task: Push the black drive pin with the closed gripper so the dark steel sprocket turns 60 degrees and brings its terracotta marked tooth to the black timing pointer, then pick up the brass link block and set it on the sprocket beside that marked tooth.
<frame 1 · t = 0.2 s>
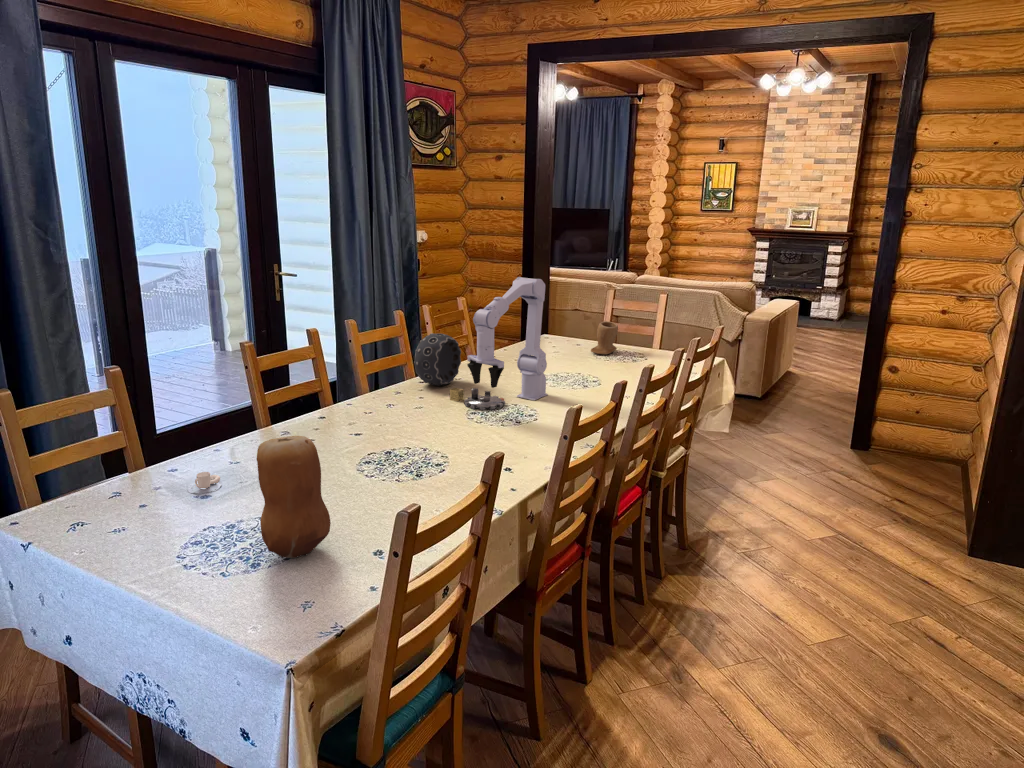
hand: (485, 385, 232), 10 cm above the table, tool pointing down, fingers open, 7 cm apart
stone cup: (605, 353, 330), on the table
timing pointer: (487, 397, 253), on the table
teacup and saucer: (218, 488, 173), on the table
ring: (438, 384, 270), on the table
butternut squash: (297, 554, 142), on the table
link block: (456, 400, 250), on the table
sprocket: (484, 397, 244), point 3 cm above the table, hinge at 0.0°
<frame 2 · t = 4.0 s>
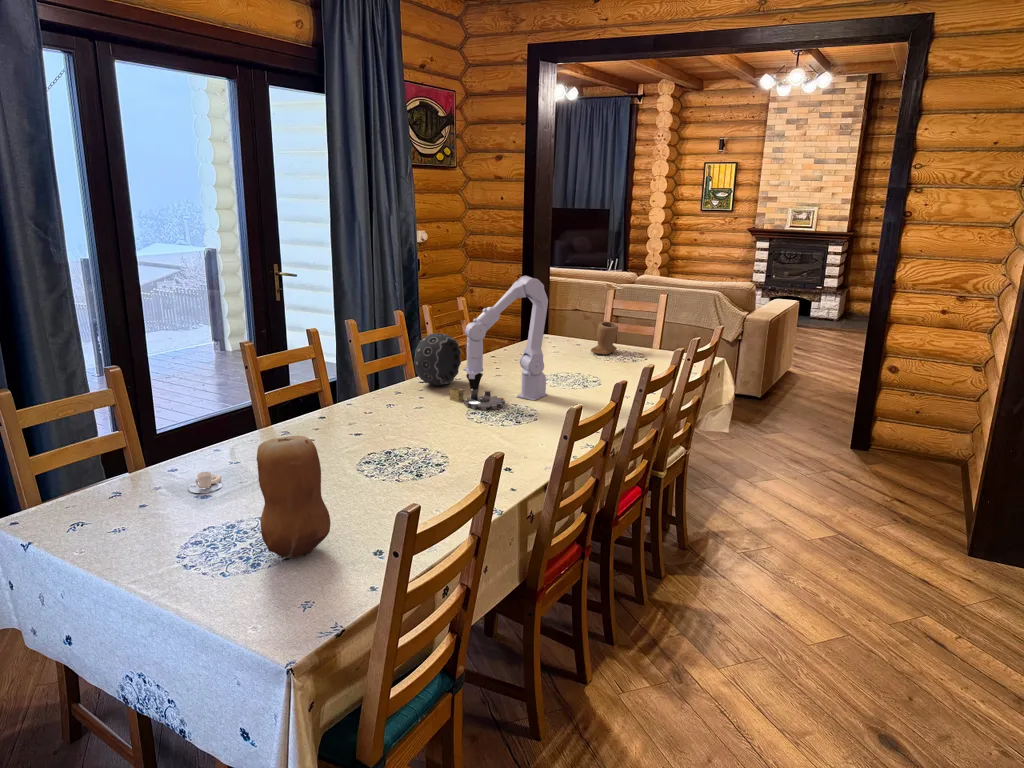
hand: (474, 393, 248), 3 cm above the table, tool pointing down, fingers closed, pressing on sprocket
sprocket: (484, 397, 244), point 3 cm above the table, hinge at 4.0°, touching gripper
everything else where it was.
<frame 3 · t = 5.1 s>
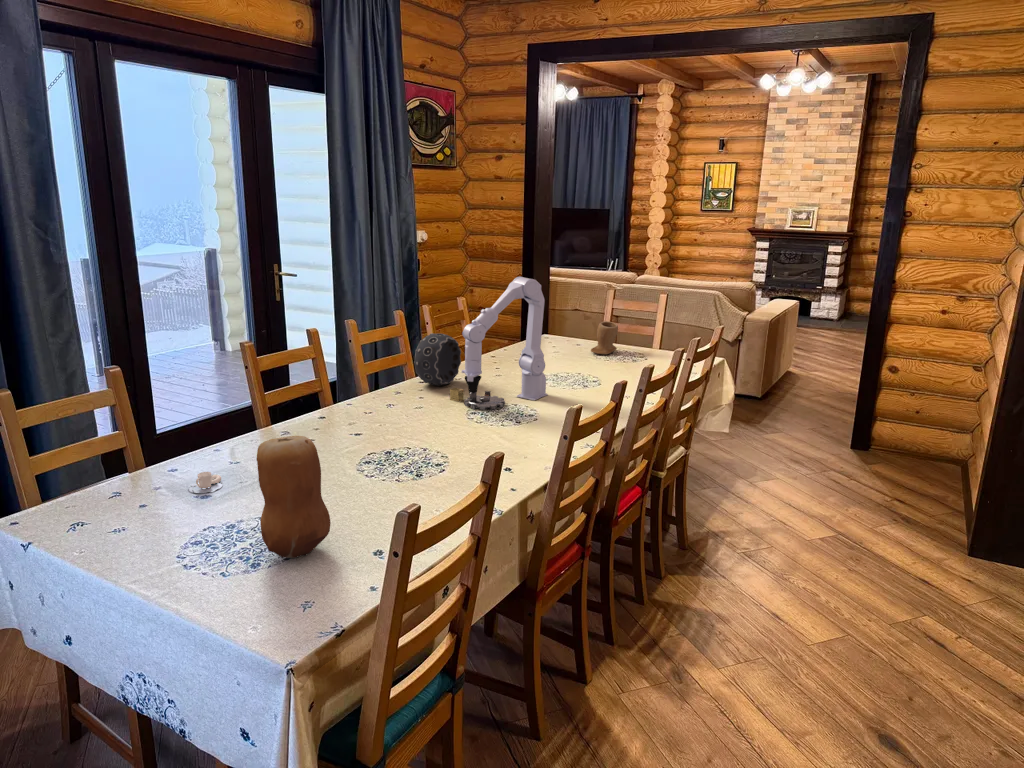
hand: (472, 396, 244), 3 cm above the table, tool pointing down, fingers closed, pressing on sprocket
sprocket: (484, 397, 244), point 3 cm above the table, hinge at 61.2°, touching gripper
everything else where it was.
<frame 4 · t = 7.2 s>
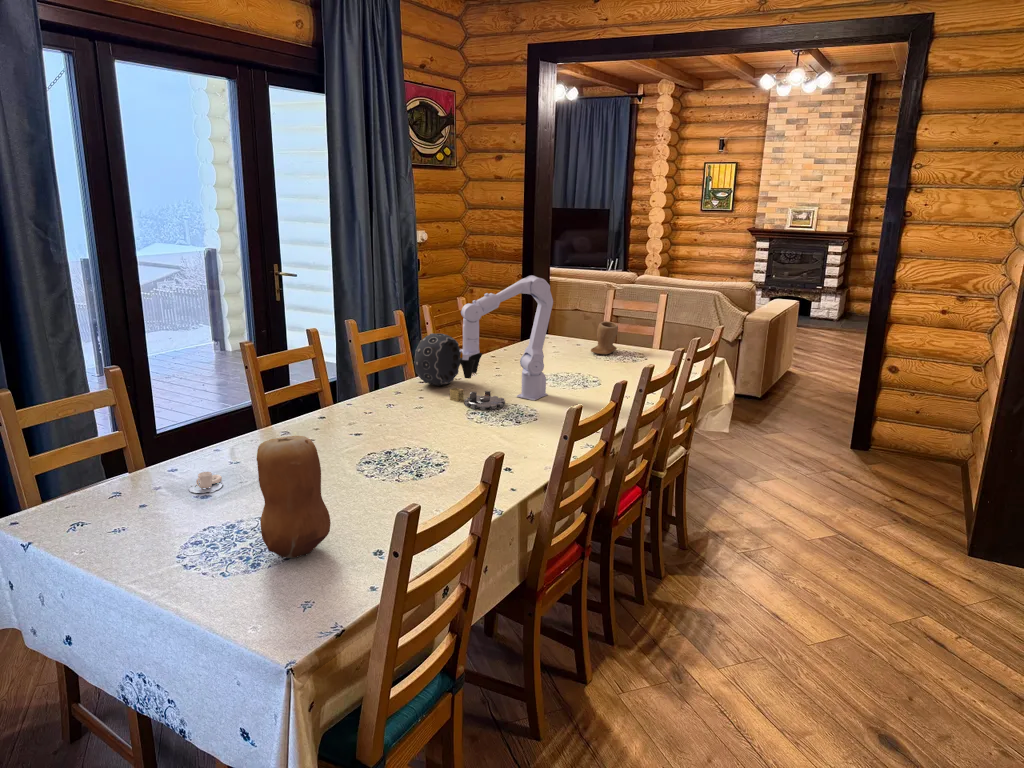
hand: (470, 375, 246), 10 cm above the table, tool pointing down, fingers open, 7 cm apart
sprocket: (484, 397, 244), point 3 cm above the table, hinge at 61.4°
everything else where it was.
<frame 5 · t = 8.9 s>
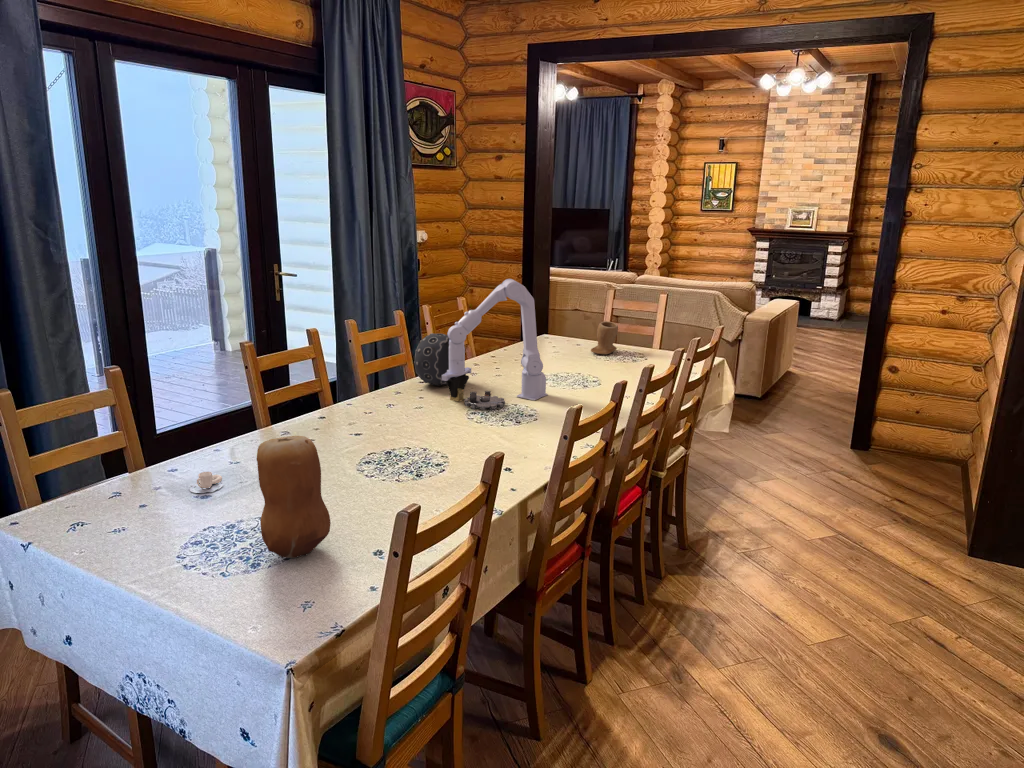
hand: (456, 396, 250), 1 cm above the table, tool pointing down, fingers closed on link block, 3 cm apart
link block: (456, 399, 250), on the table, touching gripper
everything else where it was.
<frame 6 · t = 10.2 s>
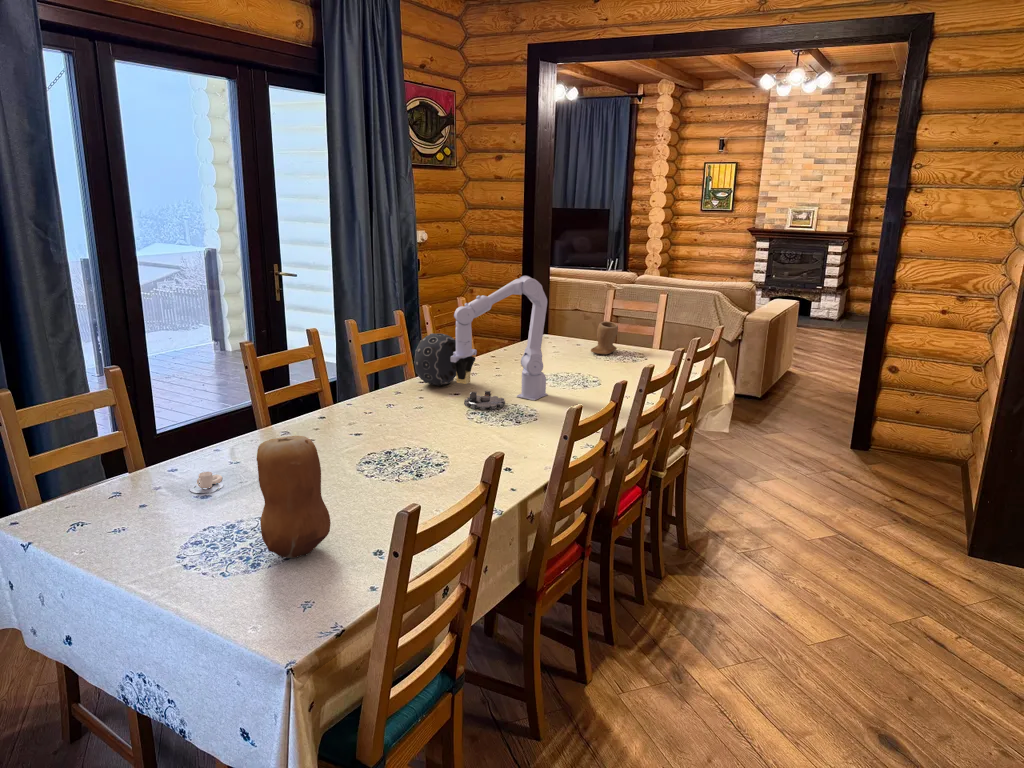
hand: (463, 377, 248), 8 cm above the table, tool pointing down, fingers closed on link block, 3 cm apart
link block: (463, 382, 248), point 7 cm above the table, touching gripper
everything else where it was.
when the fingers open (4 cm above the table, at t = 11.8 s): link block stays where it is, resting on sprocket.
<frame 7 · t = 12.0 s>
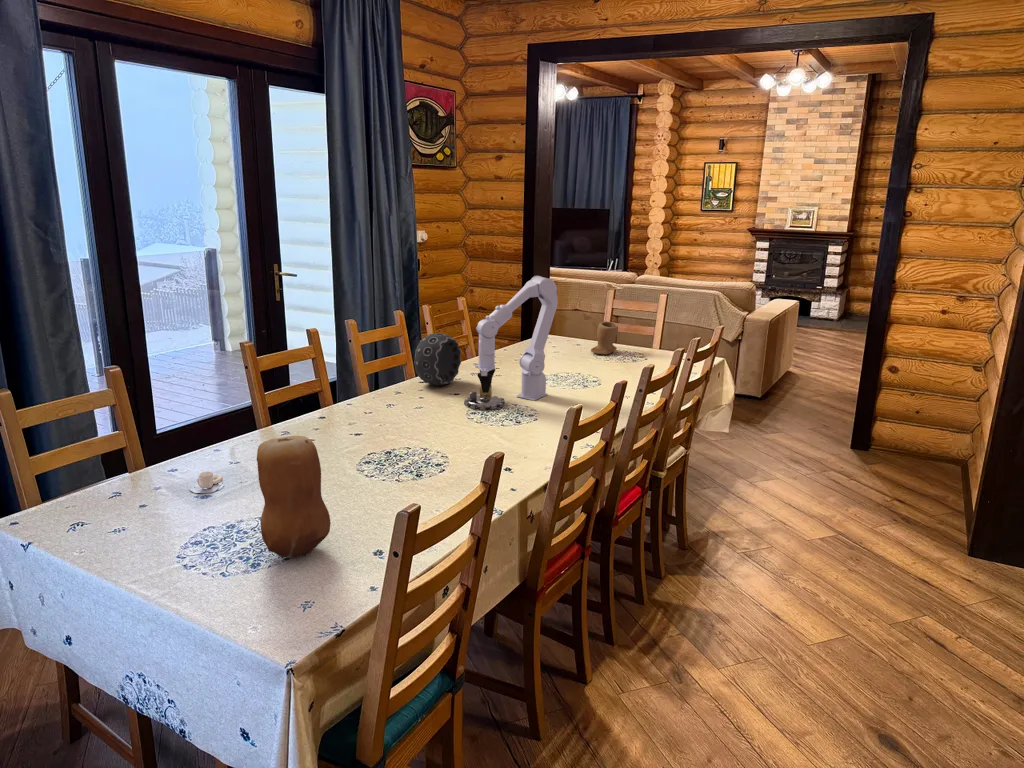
hand: (486, 390, 248), 4 cm above the table, tool pointing down, fingers open, 4 cm apart
link block: (485, 397, 249), point 1 cm above the table, touching sprocket
sprocket: (484, 397, 244), point 3 cm above the table, hinge at 61.4°, touching link block
everything else where it was.
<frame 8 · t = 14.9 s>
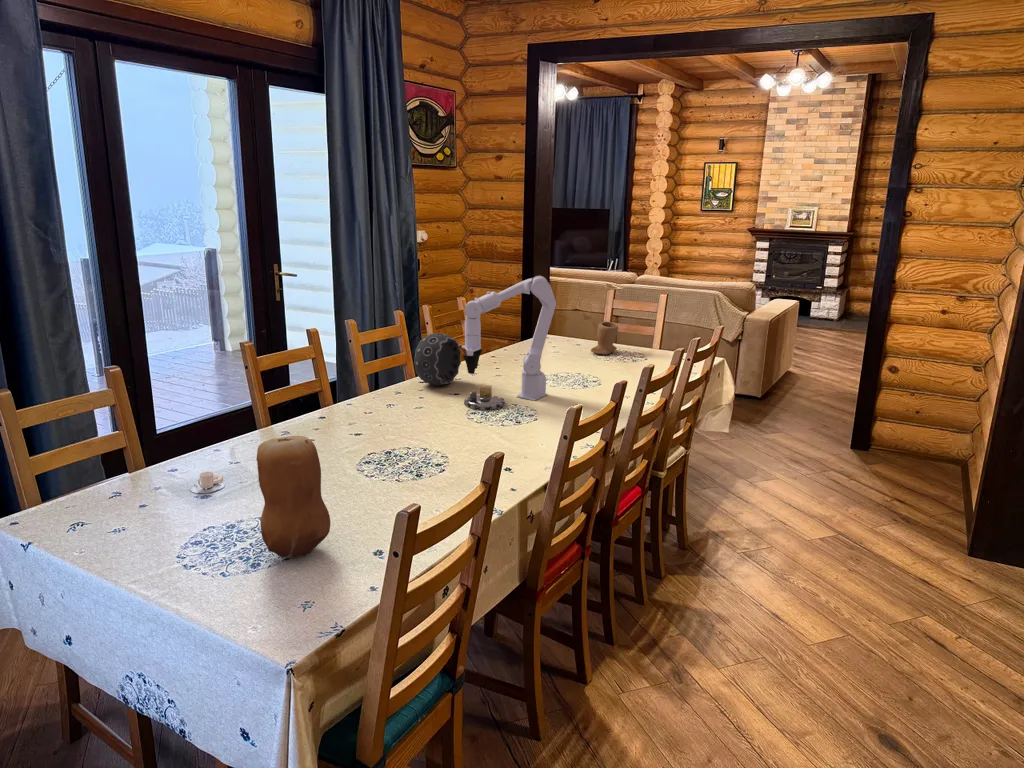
hand: (472, 370, 253), 9 cm above the table, tool pointing down, fingers open, 7 cm apart
nothing on the table moved.
at the end: sprocket at +61° (first picture: +0°); link block 0.2 cm from the target spot, point 1.5 cm above the table; link block touching sprocket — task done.
